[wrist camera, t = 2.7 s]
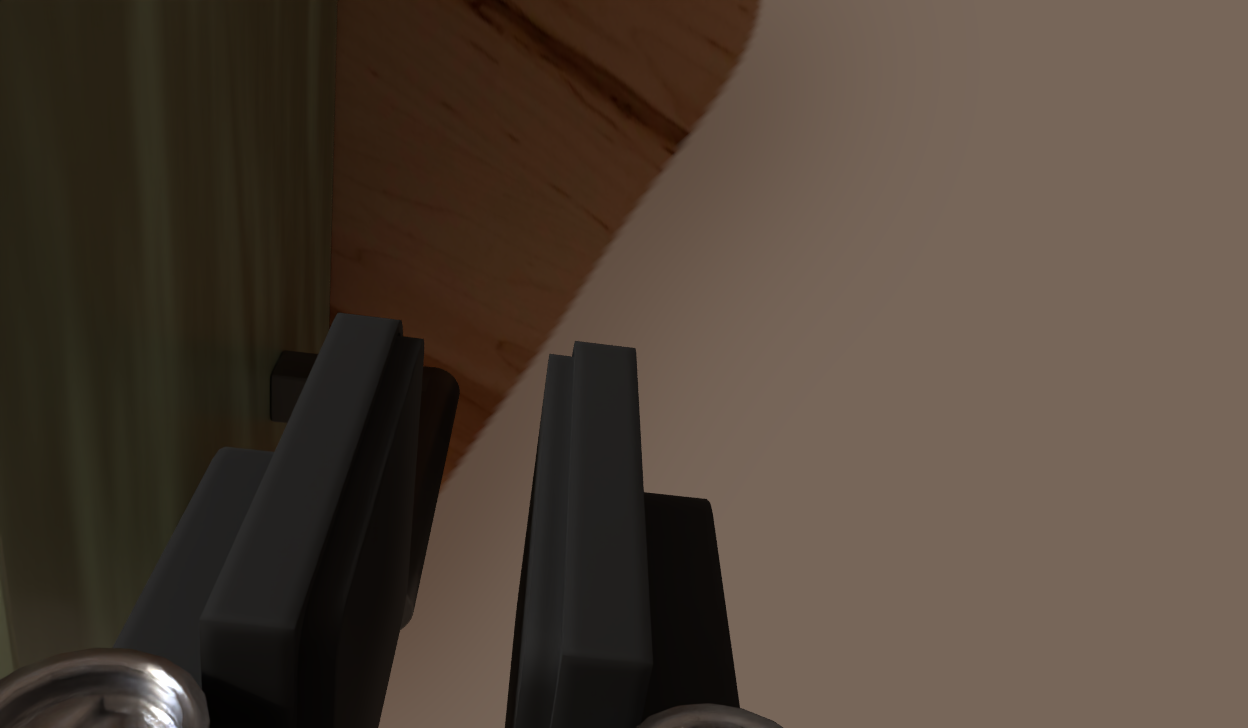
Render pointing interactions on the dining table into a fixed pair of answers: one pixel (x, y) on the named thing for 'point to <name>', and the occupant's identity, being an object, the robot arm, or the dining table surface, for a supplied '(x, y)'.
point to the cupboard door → (157, 286)
